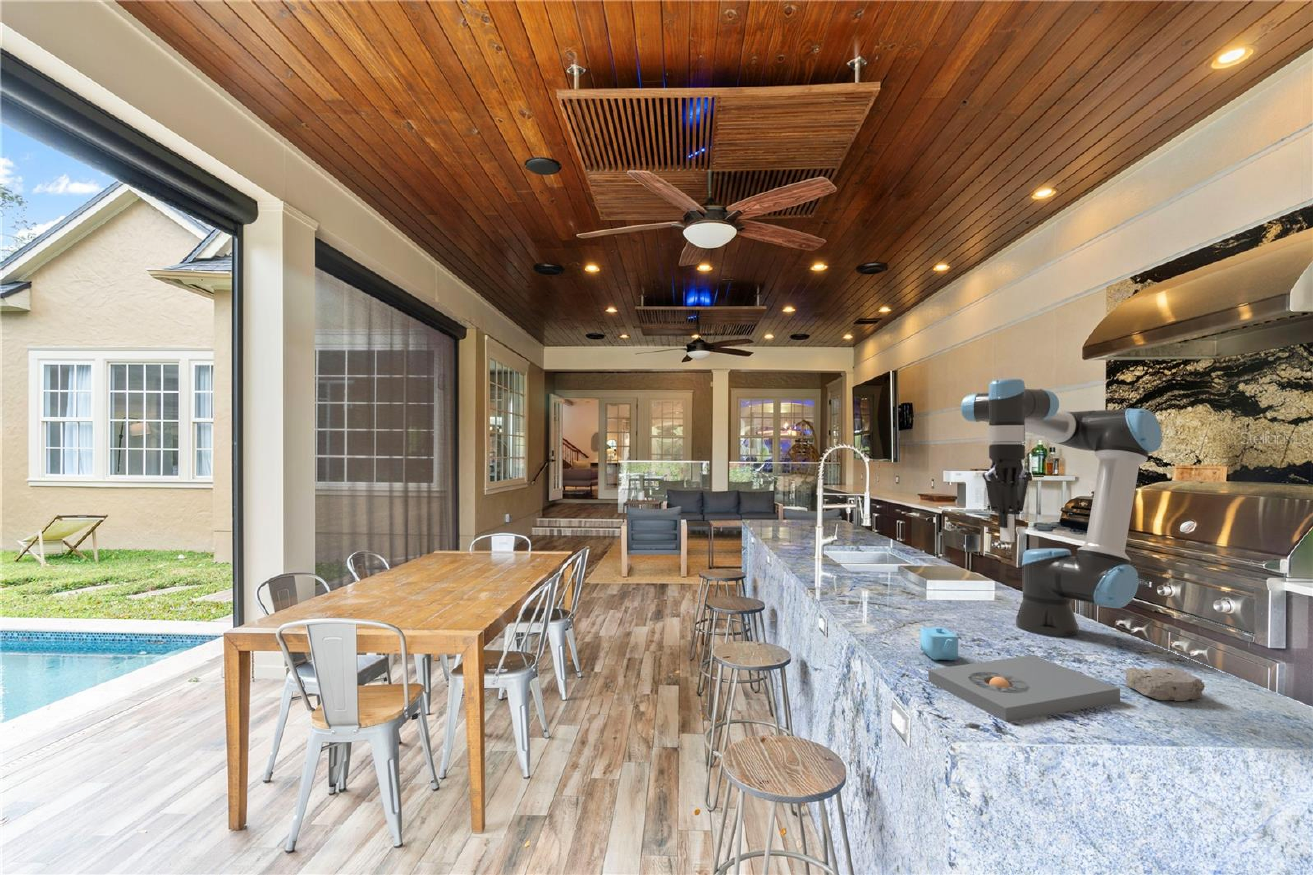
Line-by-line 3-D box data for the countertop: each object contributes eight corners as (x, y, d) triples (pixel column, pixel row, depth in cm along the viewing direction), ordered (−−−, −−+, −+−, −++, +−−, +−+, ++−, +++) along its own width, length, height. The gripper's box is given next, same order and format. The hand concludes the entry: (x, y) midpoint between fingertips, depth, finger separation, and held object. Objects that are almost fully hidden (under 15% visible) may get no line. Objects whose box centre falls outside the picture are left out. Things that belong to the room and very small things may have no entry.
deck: (1032, 667, 142) (1032, 655, 142) (1120, 703, 123) (1120, 688, 123) (928, 683, 133) (928, 669, 133) (1005, 724, 114) (1005, 708, 114)
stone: (1114, 684, 131) (1160, 706, 121) (1117, 658, 131) (1164, 678, 121) (1164, 685, 133) (1213, 708, 123) (1167, 660, 133) (1217, 680, 123)
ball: (1001, 677, 128) (988, 671, 127) (1017, 684, 125) (1004, 678, 124) (995, 695, 128) (981, 689, 127) (1011, 703, 124) (997, 696, 123)
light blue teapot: (964, 668, 141) (964, 636, 141) (938, 668, 142) (938, 636, 142) (942, 651, 153) (942, 621, 153) (918, 650, 154) (918, 621, 154)
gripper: (1014, 443, 150) (1014, 537, 150) (972, 443, 147) (973, 540, 146) (1041, 443, 143) (1042, 542, 143) (998, 443, 139) (999, 545, 139)
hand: (1007, 541), depth 145 cm, fingers closed
